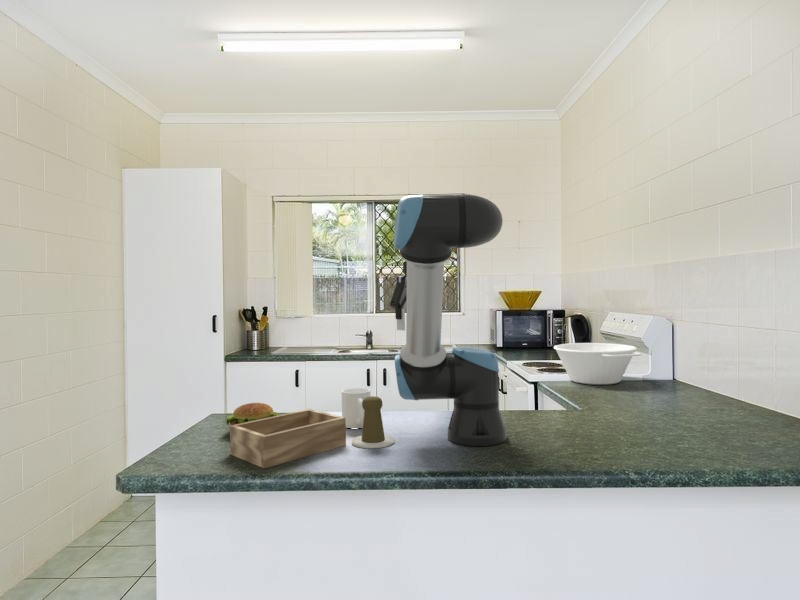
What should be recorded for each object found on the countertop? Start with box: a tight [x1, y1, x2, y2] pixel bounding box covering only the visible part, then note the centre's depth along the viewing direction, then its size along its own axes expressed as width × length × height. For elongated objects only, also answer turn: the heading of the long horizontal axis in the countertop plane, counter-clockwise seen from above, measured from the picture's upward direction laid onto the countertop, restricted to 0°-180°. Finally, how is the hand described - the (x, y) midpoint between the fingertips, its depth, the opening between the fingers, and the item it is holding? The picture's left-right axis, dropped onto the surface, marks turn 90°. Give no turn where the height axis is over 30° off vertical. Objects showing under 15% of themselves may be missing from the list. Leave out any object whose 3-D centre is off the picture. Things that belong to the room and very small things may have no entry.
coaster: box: [351, 434, 396, 450], centre depth 137 cm, size 11×11×1 cm
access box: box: [229, 408, 347, 469], centre depth 132 cm, size 15×23×7 cm, turn 135°
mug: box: [341, 387, 371, 428], centre depth 152 cm, size 12×8×10 cm
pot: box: [553, 342, 642, 386], centre depth 217 cm, size 40×32×14 cm
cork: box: [361, 396, 385, 443], centre depth 137 cm, size 6×6×11 cm
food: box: [225, 402, 279, 426], centre depth 150 cm, size 14×14×8 cm
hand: (416, 328), depth 166 cm, fingers open, 13 cm apart
